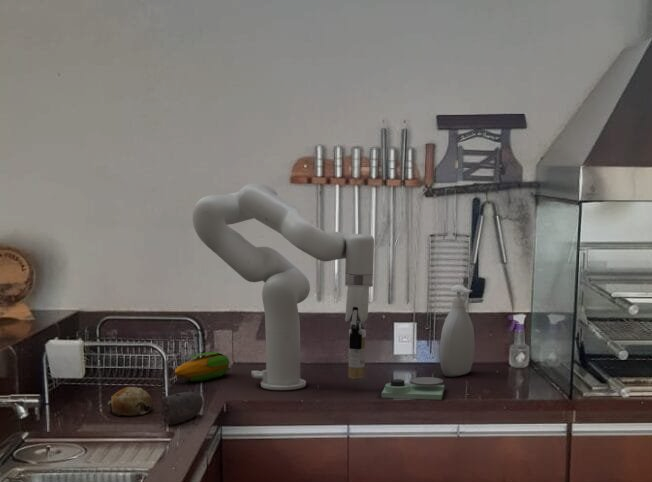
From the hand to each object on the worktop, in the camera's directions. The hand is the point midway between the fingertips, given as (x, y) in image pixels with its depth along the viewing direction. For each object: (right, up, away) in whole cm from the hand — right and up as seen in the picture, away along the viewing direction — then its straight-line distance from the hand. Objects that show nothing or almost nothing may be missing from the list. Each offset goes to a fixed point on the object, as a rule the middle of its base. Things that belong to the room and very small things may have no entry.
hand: (357, 346), depth 245 cm
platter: (+19, -10, 0) cm, 21 cm away
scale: (+15, -13, -1) cm, 20 cm away
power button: (+11, -11, -4) cm, 16 cm away
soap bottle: (+29, -9, +25) cm, 39 cm away
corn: (-45, -10, +15) cm, 49 cm away
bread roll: (-55, -16, -23) cm, 62 cm away
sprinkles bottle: (0, -9, +2) cm, 9 cm away
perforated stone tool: (-40, -18, -31) cm, 54 cm away
